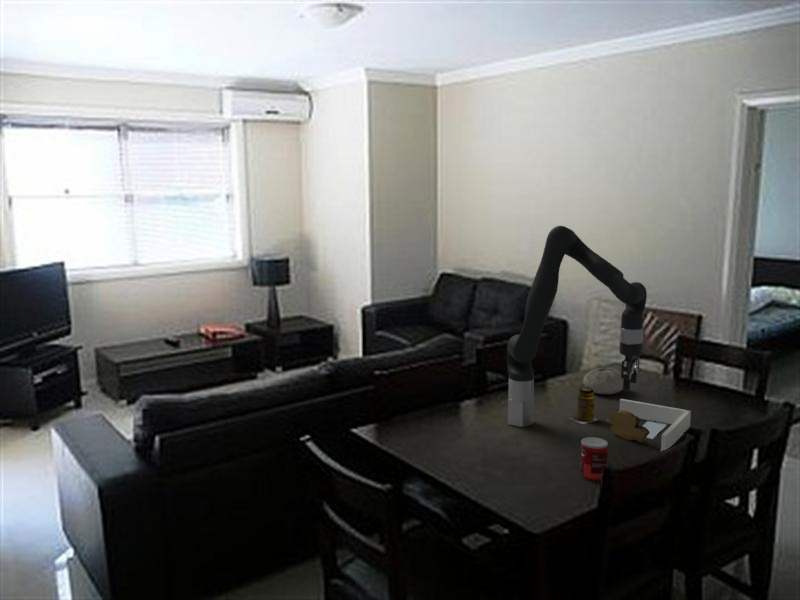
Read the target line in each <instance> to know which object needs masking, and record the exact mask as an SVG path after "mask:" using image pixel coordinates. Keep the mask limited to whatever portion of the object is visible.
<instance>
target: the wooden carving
mask: <svg viewBox="0 0 800 600" xmlns="http://www.w3.org/2000/svg"><path fill="white" fill-rule="evenodd" d="M610 416H611V417H610V418H608V419H606V420H605V421H606V422H607V423H608V424H610V425H611V427H609V429H610V430H611V431H612V432H613V433H614V434H615V435H617V436H618V437H620V438H621V439H623V440H627V441H633V440H635V441H636V442H638V443H643V442H645V441H647V439H648V438H647V436H648V434H649V433H650V432H649V431H648V429H647V428H645V427H643V425H639V424H640V419H639V418H638V417H637V416H634V415H633V414H632V413H630V412H628V411H624V410H620V411H619V410H617V409H616V410H613V411H612V412H611V415H610Z"/></svg>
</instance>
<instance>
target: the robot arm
mask: <svg viewBox="0 0 800 600" xmlns="http://www.w3.org/2000/svg"><path fill="white" fill-rule="evenodd" d="M565 255H566V256H567V257H569V258H571V259H573V260H574V261H576V262H577V263H579V264H580V265H581V266H582V267H583V268H585V269H586V270H587V271H588V273H589V274H591V276H593V277H594V278H595V279H596V280H598V281H599V282H600V283H602V284H603V285H604V286H606V287H607V288H608V289H609V290H610V291H611V293H612V294H613V295H614V296H615V297H616V299H618V300H619V301H620V302H621V303H623V304H624V305H625V308H624V310H623V311H622V312H621V315H620V316H621V317H620V318H621V319H620V332H619V354H620V355H622V356H624V359H623V360H622V361H621V370H620V371H621V378H623V390H627V391H629V390H631V384H636V383H637V379H638V378H637V377H638V376H637V375H638V372H639V370H640V357H641V356H642V355H643V351H644V349H643V346H644V345H643V344H644V341H643V340H644V329H643V326H644V321H643V320H644V312H645V309H646V303H647V298H648V296H647V295H648V294H647V288H646V287H645V285H644V284H642V282H638V281H634V282H629V281H628V280H627V279H625V276H624V273H623V272H622V271H621V270H620V269H619V268H618V267H616V266H614V265H613V264H612V263H611V262H609V261H608V260H607V259H605V258H604V257H602V256H600V255H599V254H597V253H596V252H595V251H593V250H592V249H591V248H590V247H589V246H588V245H587V244H586V243H584V241H583V240H582V239H580V237H579V236H578V235H577V234H576V233H575V231H574V230H573V229H570V228H568V227H566V226H565V225H564V226H563V225H556V226H554V227H553V228H552V229H550V231H549V232H548V234H547V237H546V240H545V245H544V249H543V253H542V258H541V260H540V263H539V266H538V268H537V270H536V273H535V276H534V279H533V282H532V284H531V286H530V289H529V292H528V294H527V295H528V296H527V298H526V302H525V303H526V304H525V313H524V319H523V321H524V322H523V326H522V328H521V330H520V333H518V334H514V335H513V336H511V337H510V338H509V340H508V342H507V345H506V346H507V347H506V365H507V367H506V368H507V372H508V400H507V425H511V426H514V427H519V428H520V427H521V428H524V427H528V426H532V425H533V424H534V408H535V407H534V400H535V399H534V394H535V393H534V391H535V390H534V389H535V372H534V369H533V365H532V361H533V359H534V358H535V357H536V355H537V353H538V348H539V345H540V340H541V337H542V332H543V329H544V327H545V324H546V322H547V319H548V317H549V315H550V311H551V308H552V306H553V303H554V302H555V301H554V300H555V299H556V295H557V292H558V288H559V279H560V278H559V277H560V269H561V265H562V262H563V261H564V257H565Z"/></svg>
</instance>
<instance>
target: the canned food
mask: <svg viewBox="0 0 800 600" xmlns="http://www.w3.org/2000/svg"><path fill="white" fill-rule="evenodd" d="M608 451H609V443H608V441H607V440H605V439H603V438H600V437H593V436H592V437H591V436H589V437H584V438H582V439H581V442H580V475H581V477H582V478H583V479H586V480H587V481H588V480H589V481H594V482H595V481H596V482H599V481H601V480H600V478H601V473H602V470H603V468H604V467H606V466H607V467H608V456H609V455H608V453H609V452H608Z"/></svg>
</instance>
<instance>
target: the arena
mask: <svg viewBox="0 0 800 600" xmlns="http://www.w3.org/2000/svg"><path fill="white" fill-rule="evenodd" d="M620 410H624V411H628V412H630V413H632V414H633V415H634V416H637V417H638V419H639V420H640V419H641V420H645V421H651V422H655V421H656V423H661V424H667V425H670V426H668V428H667V429H665V431H664V432H663V433H662V434H661V442H660V452H661V451H663V450H666V449H668V448H670V447H671V446H672V445H673V446H674V444H676V442H677V441H678V440H679V439H680V438H681V437H682V436H683V435H684V434H685V433H686V432H687V431H688V429H689V428H690V427H691V416H692V415H691V413H692V411H691V410H688V409H684V408H683V409H682V408H677V407H672V406H670V407H669V406H667V405H666V406H665V405H660V404H653V403H647V402H643V401H638V400H637V401H635V400H631V399H630V400H629V399H626V398H625V399H624V398H620V399H619V410H618V411H620ZM684 432H685V433H684ZM671 448H672V447H671ZM671 448H670V449H671Z"/></svg>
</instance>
